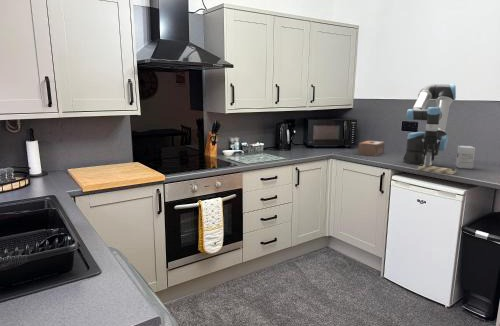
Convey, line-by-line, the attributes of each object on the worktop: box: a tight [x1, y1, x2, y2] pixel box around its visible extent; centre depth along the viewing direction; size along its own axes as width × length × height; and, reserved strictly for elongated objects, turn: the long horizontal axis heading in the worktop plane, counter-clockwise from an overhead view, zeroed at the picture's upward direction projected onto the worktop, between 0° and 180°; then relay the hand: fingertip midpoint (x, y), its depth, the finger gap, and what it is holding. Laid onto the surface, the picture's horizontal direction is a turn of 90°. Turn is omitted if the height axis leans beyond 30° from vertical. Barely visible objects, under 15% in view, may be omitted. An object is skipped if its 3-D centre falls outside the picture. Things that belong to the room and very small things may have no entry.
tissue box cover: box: [357, 140, 386, 157], centre depth 306 cm, size 26×14×10 cm, turn 144°
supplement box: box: [455, 145, 476, 170], centre depth 248 cm, size 9×9×15 cm
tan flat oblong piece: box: [417, 164, 457, 175], centre depth 234 cm, size 21×10×3 cm, turn 46°
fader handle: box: [425, 150, 432, 167], centre depth 237 cm, size 2×4×11 cm, turn 136°
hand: (428, 164), depth 238 cm, fingers closed on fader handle, 2 cm apart
